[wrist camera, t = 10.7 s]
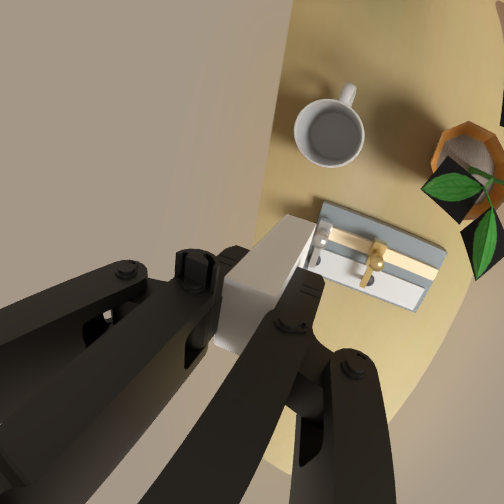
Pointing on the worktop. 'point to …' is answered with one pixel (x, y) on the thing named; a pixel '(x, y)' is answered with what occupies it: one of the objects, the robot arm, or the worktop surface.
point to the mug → (330, 130)
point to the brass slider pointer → (374, 260)
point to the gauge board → (395, 257)
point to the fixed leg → (320, 239)
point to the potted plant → (471, 189)
